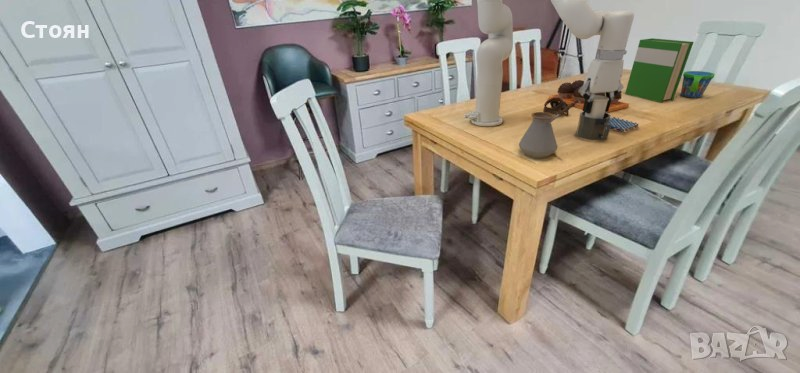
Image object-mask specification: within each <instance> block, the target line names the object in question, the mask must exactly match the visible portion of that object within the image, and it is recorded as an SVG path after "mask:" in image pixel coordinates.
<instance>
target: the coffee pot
mask: <svg viewBox="0 0 800 373" xmlns="http://www.w3.org/2000/svg"><path fill="white" fill-rule="evenodd" d="M578 101H579V100H576V101H575V102H574V103H571V105H567V107H565V108H564V109H563V110H562V111H561V112H557V114H556V115H554V113H552V114H551V113H547V112H543V111H535V112H532V113H531V117H532V122H531V123H530V125H529V126H528V128H527V130H526V131H525V132H524V134H523V136H522V138H521V139H520V141H519V143H518V147H519V149H520V151H521V152H522V153H523V154H524V155H525V156H526V157H529V158H532V159H547V158H548V157H549V156H551V155H553V154H554V153H556V151H557V149H558V144H557V140H556V137H555V133H554V130H553V125H552V122H553V121H555V120H556V119H557V118H558V117H560V116H562V115H563V114H566V113H565V112H566V111H570V110H571V109H572V107H574V106H575V104H576V103H578ZM579 102H580V101H579ZM580 103H581V102H580ZM576 105H577V104H576ZM578 106H580V105H578Z"/></svg>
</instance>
